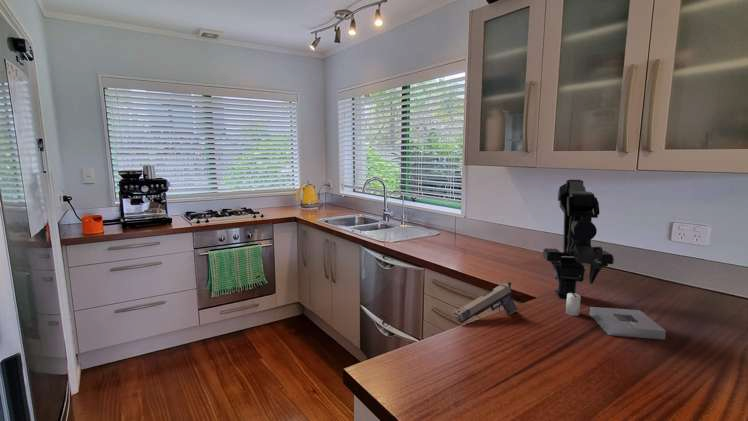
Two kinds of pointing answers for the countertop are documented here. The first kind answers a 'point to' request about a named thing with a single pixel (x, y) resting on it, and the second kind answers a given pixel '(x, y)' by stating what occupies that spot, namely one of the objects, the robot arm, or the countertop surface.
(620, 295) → the countertop surface
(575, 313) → the knob
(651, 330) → the plate
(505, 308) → the toy gun
